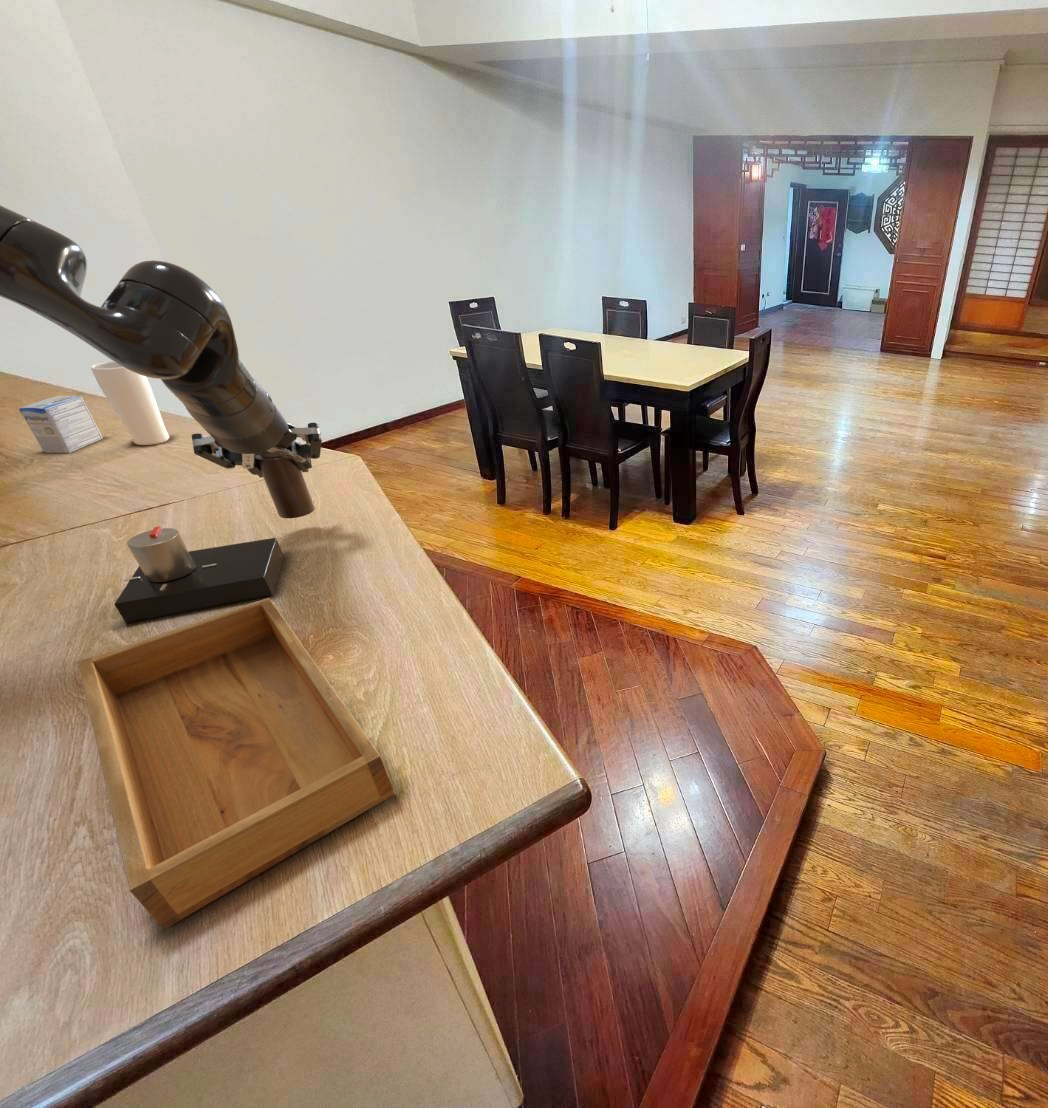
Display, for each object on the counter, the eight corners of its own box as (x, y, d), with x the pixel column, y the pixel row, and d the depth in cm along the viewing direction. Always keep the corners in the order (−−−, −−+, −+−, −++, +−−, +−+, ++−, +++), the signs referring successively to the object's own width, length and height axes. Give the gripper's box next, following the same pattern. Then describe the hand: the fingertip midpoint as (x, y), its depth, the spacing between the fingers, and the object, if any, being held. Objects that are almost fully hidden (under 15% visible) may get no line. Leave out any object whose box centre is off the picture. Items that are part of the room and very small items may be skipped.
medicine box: (79, 439, 116) (55, 395, 112) (104, 439, 117) (81, 395, 112) (43, 453, 109) (16, 407, 105) (70, 453, 110) (44, 408, 105)
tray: (397, 796, 50) (379, 751, 47) (166, 934, 40) (125, 887, 37) (287, 636, 68) (269, 596, 65) (107, 705, 58) (76, 661, 55)
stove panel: (122, 626, 68) (108, 603, 66) (150, 578, 76) (138, 557, 75) (272, 596, 74) (263, 575, 72) (284, 555, 82) (275, 536, 81)
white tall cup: (168, 433, 120) (133, 358, 113) (180, 441, 117) (144, 364, 110) (125, 442, 116) (85, 364, 108) (136, 450, 112) (95, 370, 105)
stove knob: (190, 577, 72) (171, 539, 69) (141, 586, 70) (119, 547, 67) (199, 559, 75) (181, 523, 72) (153, 567, 73) (132, 530, 71)
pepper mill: (276, 520, 83) (249, 454, 78) (281, 508, 87) (255, 443, 82) (313, 515, 85) (289, 450, 80) (316, 503, 89) (293, 439, 84)
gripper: (160, 445, 66) (226, 501, 81) (311, 430, 72) (346, 484, 87) (152, 386, 67) (218, 451, 82) (301, 376, 73) (337, 439, 88)
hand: (284, 468), depth 84 cm, fingers closed on pepper mill, 4 cm apart
